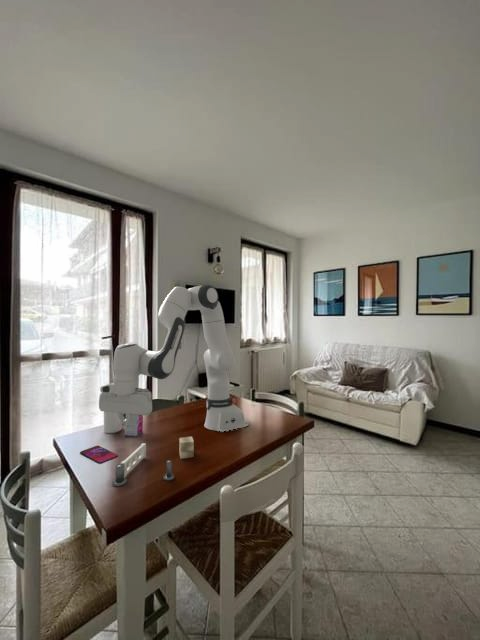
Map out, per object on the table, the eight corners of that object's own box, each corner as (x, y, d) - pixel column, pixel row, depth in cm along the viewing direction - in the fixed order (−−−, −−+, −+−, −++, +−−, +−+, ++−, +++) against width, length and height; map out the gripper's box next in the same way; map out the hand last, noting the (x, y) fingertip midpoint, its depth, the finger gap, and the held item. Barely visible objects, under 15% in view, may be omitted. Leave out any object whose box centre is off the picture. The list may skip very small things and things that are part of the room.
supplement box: (136, 437, 127) (136, 412, 127) (124, 436, 128) (124, 411, 128) (143, 432, 133) (143, 408, 133) (131, 431, 134) (132, 407, 134)
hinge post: (127, 477, 94) (127, 461, 94) (126, 485, 90) (126, 468, 90) (113, 480, 93) (113, 463, 93) (111, 487, 89) (111, 470, 89)
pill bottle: (107, 427, 139) (107, 397, 139) (124, 427, 139) (124, 396, 139) (100, 433, 131) (101, 401, 131) (118, 433, 131) (118, 401, 131)
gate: (124, 477, 93) (124, 463, 93) (120, 477, 93) (120, 463, 93) (145, 456, 108) (145, 443, 108) (142, 455, 108) (142, 443, 108)
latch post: (174, 474, 97) (174, 458, 97) (174, 479, 93) (174, 463, 93) (163, 475, 96) (163, 459, 96) (163, 481, 92) (163, 464, 92)
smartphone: (99, 463, 103) (78, 451, 111) (99, 465, 103) (78, 454, 111) (119, 455, 110) (98, 444, 118) (119, 457, 110) (97, 447, 118)
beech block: (191, 451, 114) (191, 436, 114) (193, 457, 109) (193, 441, 109) (179, 453, 112) (179, 437, 112) (180, 458, 108) (180, 443, 108)
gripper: (155, 387, 104) (155, 424, 104) (108, 383, 109) (107, 419, 109) (146, 391, 98) (145, 430, 98) (96, 387, 103) (95, 425, 103)
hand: (125, 424), depth 103 cm, fingers closed
